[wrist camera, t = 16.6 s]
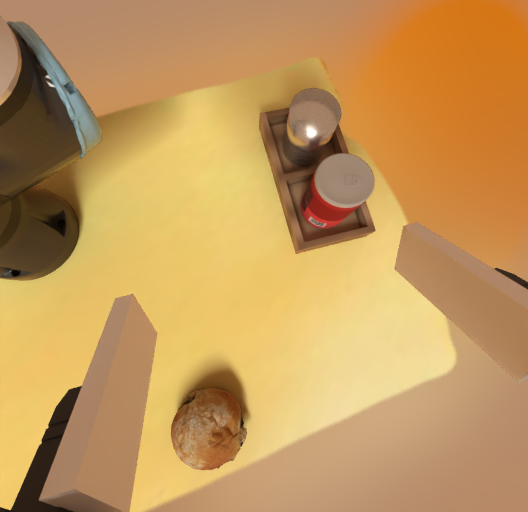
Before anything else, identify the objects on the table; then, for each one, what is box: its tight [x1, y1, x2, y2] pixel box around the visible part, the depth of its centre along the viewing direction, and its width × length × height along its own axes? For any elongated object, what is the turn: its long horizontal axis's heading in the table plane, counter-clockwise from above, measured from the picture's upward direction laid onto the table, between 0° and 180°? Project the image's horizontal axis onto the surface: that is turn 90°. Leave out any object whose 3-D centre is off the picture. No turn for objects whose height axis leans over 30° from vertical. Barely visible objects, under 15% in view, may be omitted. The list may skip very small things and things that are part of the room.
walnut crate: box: [259, 108, 376, 254], centre depth 44 cm, size 25×13×4 cm, turn 15°
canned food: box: [300, 153, 374, 229], centre depth 38 cm, size 8×8×11 cm
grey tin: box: [282, 88, 341, 167], centre depth 41 cm, size 8×8×9 cm
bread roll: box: [171, 388, 247, 470], centre depth 36 cm, size 10×10×8 cm
